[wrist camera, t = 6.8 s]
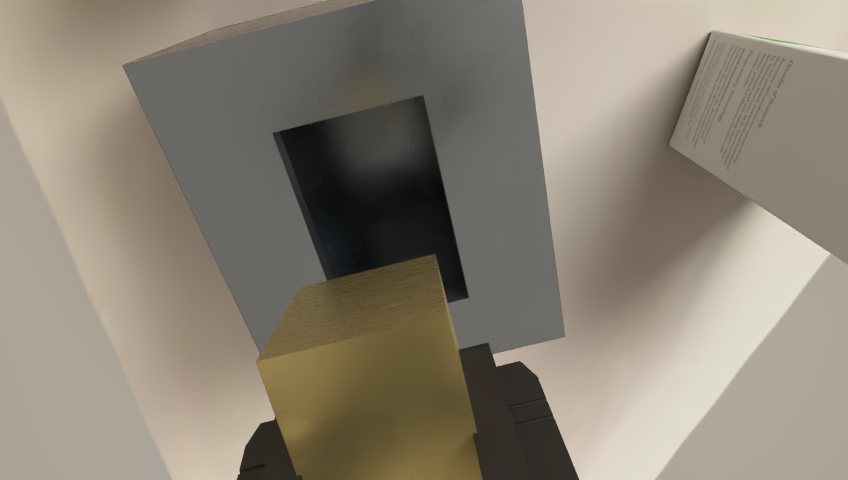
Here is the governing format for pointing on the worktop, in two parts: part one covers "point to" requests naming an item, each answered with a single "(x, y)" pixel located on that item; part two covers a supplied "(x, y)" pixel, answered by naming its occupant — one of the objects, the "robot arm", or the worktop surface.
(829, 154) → the skincare box
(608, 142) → the worktop surface
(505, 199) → the box
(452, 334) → the wooden block
